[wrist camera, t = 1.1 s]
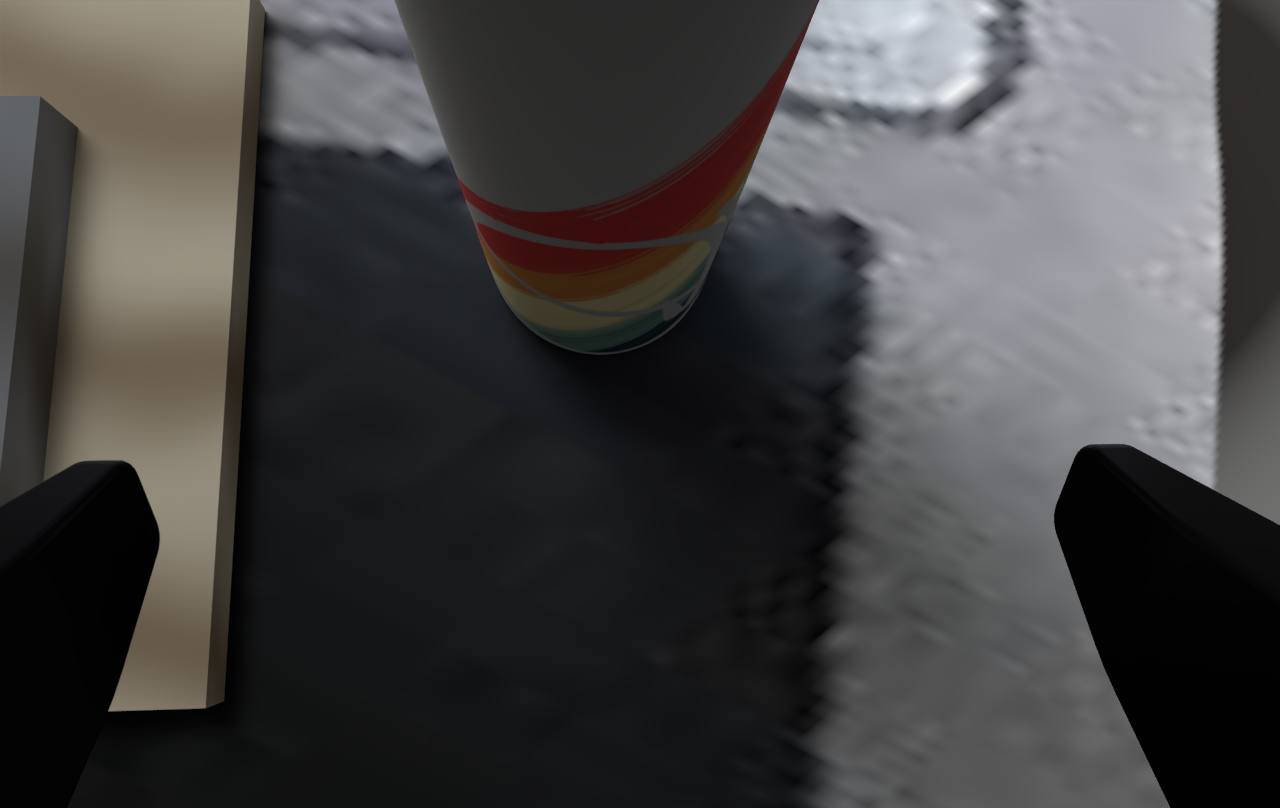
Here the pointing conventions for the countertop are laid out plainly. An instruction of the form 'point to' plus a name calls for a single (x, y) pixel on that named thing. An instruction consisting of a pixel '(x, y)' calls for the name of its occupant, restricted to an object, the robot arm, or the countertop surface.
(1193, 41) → the countertop surface
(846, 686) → the countertop surface
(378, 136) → the countertop surface
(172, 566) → the port board
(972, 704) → the countertop surface
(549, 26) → the lotion bottle
